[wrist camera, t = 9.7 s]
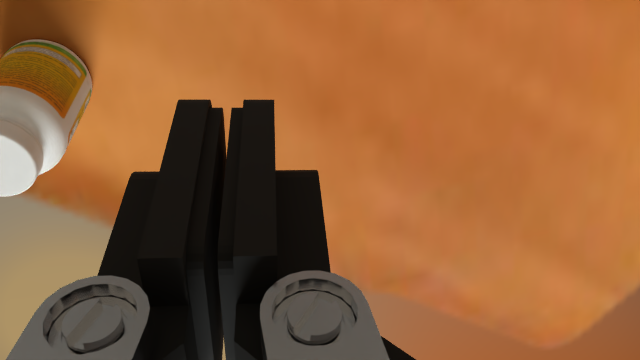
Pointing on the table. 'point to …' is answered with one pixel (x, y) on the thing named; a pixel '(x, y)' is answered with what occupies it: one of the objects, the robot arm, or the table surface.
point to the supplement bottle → (38, 109)
